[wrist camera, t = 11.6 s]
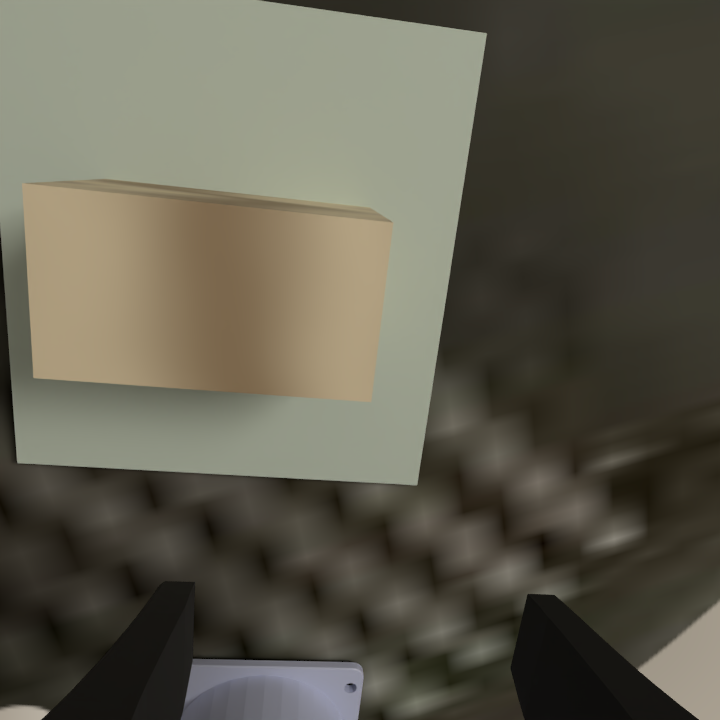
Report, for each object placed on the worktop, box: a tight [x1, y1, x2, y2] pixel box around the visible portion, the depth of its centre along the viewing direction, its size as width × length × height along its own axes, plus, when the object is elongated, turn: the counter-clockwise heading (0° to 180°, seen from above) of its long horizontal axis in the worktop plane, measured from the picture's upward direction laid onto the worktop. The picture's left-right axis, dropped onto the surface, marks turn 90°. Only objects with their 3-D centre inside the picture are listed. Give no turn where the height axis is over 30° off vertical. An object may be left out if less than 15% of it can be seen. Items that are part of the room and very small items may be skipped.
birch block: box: [22, 179, 393, 402], centre depth 16 cm, size 8×4×6 cm, turn 84°
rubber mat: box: [0, 0, 487, 485], centre depth 19 cm, size 15×14×1 cm
